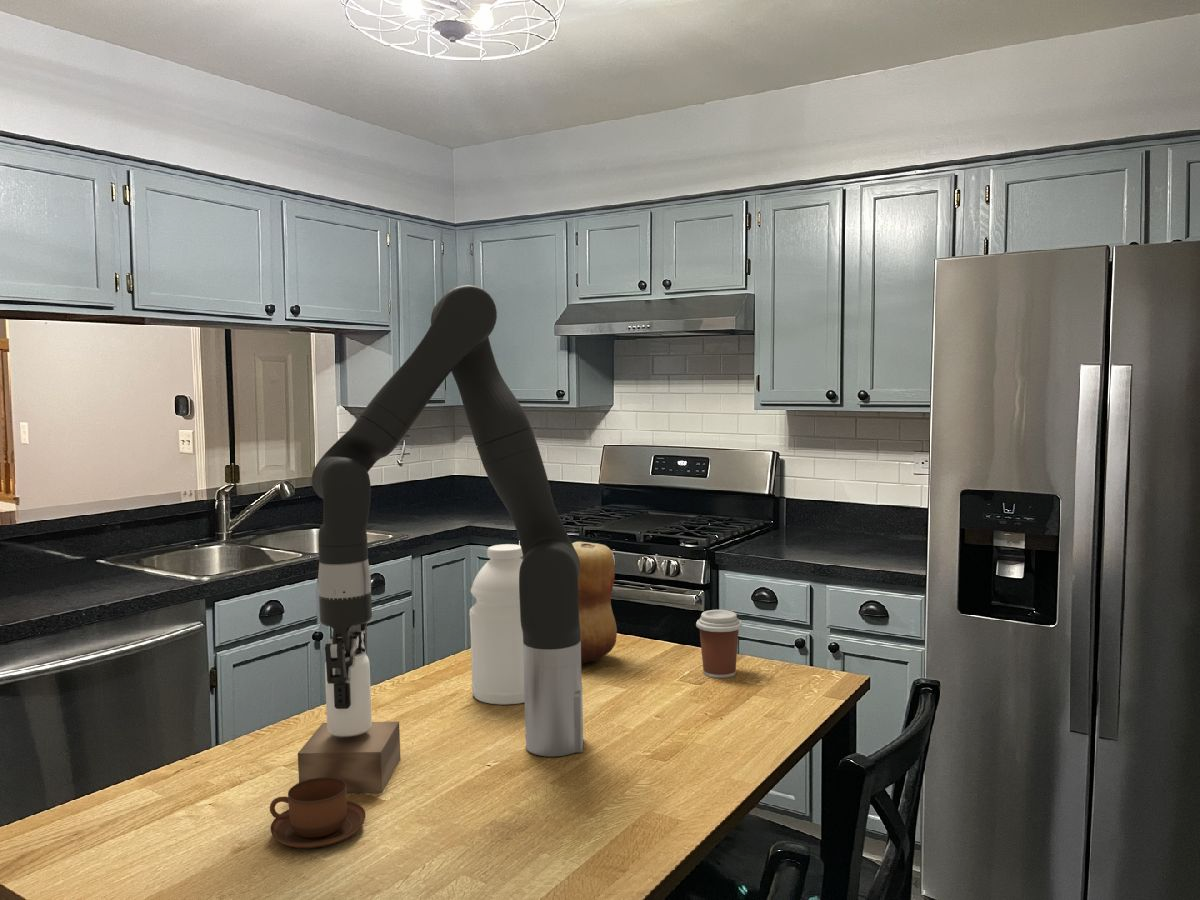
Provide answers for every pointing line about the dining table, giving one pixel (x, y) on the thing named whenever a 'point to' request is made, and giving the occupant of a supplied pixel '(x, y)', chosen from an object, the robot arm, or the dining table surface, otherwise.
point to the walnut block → (353, 757)
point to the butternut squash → (595, 600)
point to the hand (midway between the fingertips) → (349, 699)
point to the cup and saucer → (316, 814)
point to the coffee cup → (719, 642)
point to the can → (359, 711)
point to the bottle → (497, 629)
